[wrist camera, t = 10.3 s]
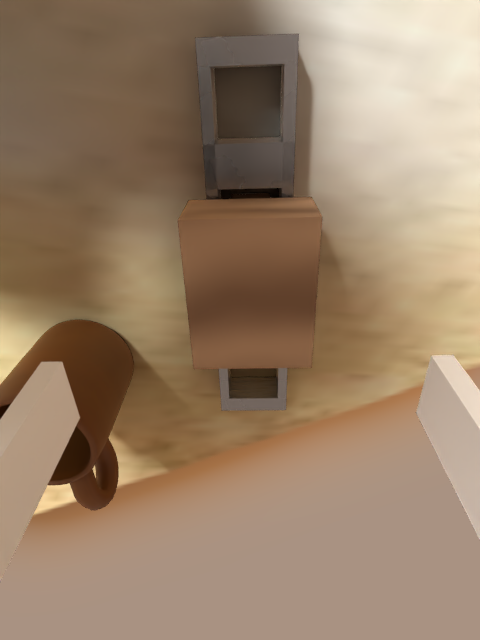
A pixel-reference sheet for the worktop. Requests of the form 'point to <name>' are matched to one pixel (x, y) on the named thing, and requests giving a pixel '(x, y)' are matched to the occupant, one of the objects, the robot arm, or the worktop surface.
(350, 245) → the worktop surface
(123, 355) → the mug
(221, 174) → the rail
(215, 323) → the tan cardboard box
